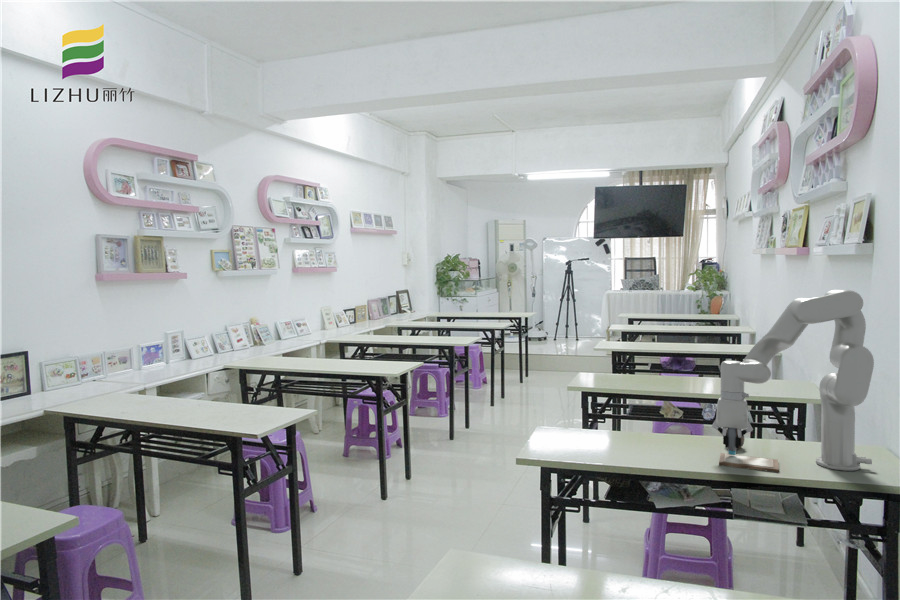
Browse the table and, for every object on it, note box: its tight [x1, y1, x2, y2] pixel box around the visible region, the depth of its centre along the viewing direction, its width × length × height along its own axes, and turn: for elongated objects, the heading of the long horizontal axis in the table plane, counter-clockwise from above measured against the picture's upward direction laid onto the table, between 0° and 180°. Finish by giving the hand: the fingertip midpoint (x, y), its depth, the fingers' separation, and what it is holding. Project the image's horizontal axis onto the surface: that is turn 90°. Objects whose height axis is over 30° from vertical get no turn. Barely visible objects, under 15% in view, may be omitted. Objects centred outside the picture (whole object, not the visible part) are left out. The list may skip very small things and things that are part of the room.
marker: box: [726, 428, 738, 455], centre depth 205 cm, size 3×3×12 cm
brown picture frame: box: [718, 452, 780, 473], centre depth 201 cm, size 18×12×1 cm, turn 62°
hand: (732, 446), depth 206 cm, fingers closed on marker, 3 cm apart
